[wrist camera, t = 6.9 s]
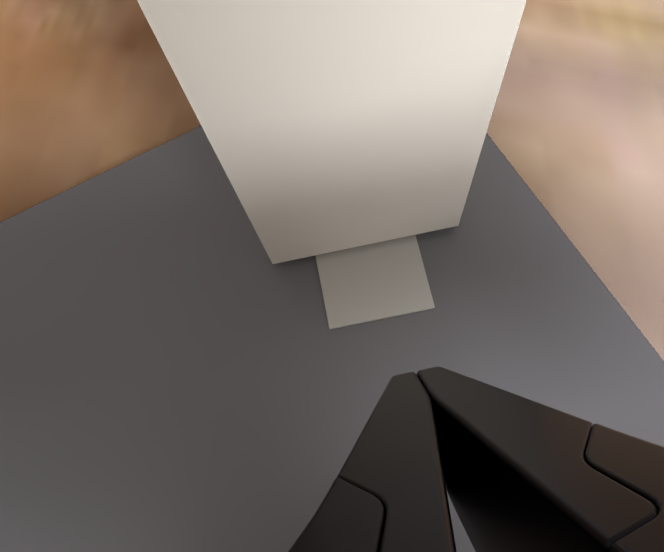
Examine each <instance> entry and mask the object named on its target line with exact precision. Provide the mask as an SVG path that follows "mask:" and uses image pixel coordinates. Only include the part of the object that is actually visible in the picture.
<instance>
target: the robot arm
mask: <svg viewBox="0 0 664 552" xmlns="http://www.w3.org/2000/svg"><path fill="white" fill-rule="evenodd" d="M447 492H448V495H449V497H450V499H451V502H452V504H453V506H454V508H455V510H456V512H457V514H458V516H459V519H460V521H461V523H462V525H463V527H464V529H465V531H466V533H467V535H468V537H469V539H470V541H471V543H472V545H473V548H474V550H475V552H664V446H660V445H657V444H654V443H651V442H648V441H645V440H642V439H640V438H637V437H634V436H631V435H628V434H625V433H622V432H619V431H616V430H614V429H611V428H608V427H606V426H603V425H600V424H597V423H596V424H594V425H593V423H592V422H589V421H587V420H584V419H581V418H579V417H576V416H573V415H570V414H568V413H565V412H562V411H560V410H557V409H554V408H551V407H549V406H546V405H543V404H541V403H538V402H535V401H532V400H530V399H527V398H524V397H522V396H519V395H516V394H513V393H511V392H508V391H505V390H503V389H500V388H497V387H494V386H492V385H489V384H486V383H484V382H481V381H478V380H475V379H473V378H470V377H467V376H464V375H462V374H459V373H456V372H454V371H451V370H448V369H445V368H443V367H439V366H436V367H432V368H427V369H422V370H419V371H418V372H417V375H416V374H415V373H414V372H408V373H404V374H399V375H395V376H393V377H392V378H391V379H390V381H389V383H388V385H387V386H386V388H385V390H384V392H383V394H382V396H381V397H380V399H379V401H378V403H377V405H376V406H375V408H374V410H373V412H372V414H371V416H370V417H369V419H368V421H367V423H366V425H365V427H364V428H363V430H362V432H361V434H360V436H359V438H358V439H357V441H356V443H355V445H354V447H353V449H352V450H351V452H350V454H349V456H348V458H347V459H346V461H345V463H344V465H343V467H342V469H341V470H340V472H339V474H338V476H337V478H336V479H335V480H334V482H333V483H332V485H331V487H330V489H329V491H328V492H327V494H326V496H325V498H324V499H323V501H322V502H321V504H320V506H319V507H318V509H317V511H316V512H315V514H314V516H313V517H312V519H311V520H310V522H309V523H308V524H307V526H306V527H305V529H304V530H303V532H302V533H301V534H300V536H299V537H298V539H297V540H296V541H295V543H294V544H293V546H292V547H291V548H290V550H289V551H288V552H457V551H456V544H455V538H454V532H453V526H452V520H451V514H450V508H449V502H448V495H447Z"/></svg>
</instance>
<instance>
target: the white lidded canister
mask: <svg viewBox="0 0 664 552" xmlns="http://www.w3.org/2000/svg"><path fill="white" fill-rule="evenodd" d="M137 2H138V4H139V5H140V7H141V9H142V11H143V13H144V15H145V17H146V19H147V21H148V23H149V25H150V27H151V29H152V31H153V33H154V35H155V37H156V39H157V40H158V42H159V44H160V46H161V48H162V50H163V52H164V54H165V56H166V58H167V60H168V62H169V64H170V66H171V68H172V70H173V72H174V74H175V75H176V77H177V79H178V81H179V83H180V85H181V87H182V89H183V91H184V93H185V95H186V97H187V99H188V101H189V103H190V105H191V107H192V109H193V110H194V112H195V114H196V116H197V118H198V120H199V122H200V124H201V126H202V128H203V130H204V132H205V134H206V136H207V138H208V140H209V142H210V143H211V145H212V147H213V149H214V151H215V153H216V155H217V157H218V159H219V161H220V163H221V165H222V167H223V169H224V171H225V173H226V175H227V177H228V178H229V180H230V182H231V184H232V186H233V188H234V190H235V192H236V194H237V196H238V198H239V200H240V202H241V204H242V206H243V208H244V210H245V212H246V213H247V215H248V217H249V219H250V221H251V223H252V225H253V227H254V229H255V231H256V233H257V235H258V237H259V239H260V241H261V243H262V245H263V247H264V248H265V250H266V252H267V254H268V256H269V258H270V260H271V262H272V264H276V263H281V262H286V261H291V260H296V259H300V258H305V257H310V256H315V255H320V254H325V253H329V252H334V251H339V250H344V249H349V248H354V247H358V246H363V245H368V244H373V243H378V242H382V241H387V240H392V239H397V238H402V237H407V236H411V235H416V234H421V233H426V232H431V231H436V230H440V229H445V228H450V227H455V226H458V225H459V222H460V219H461V215H462V212H463V209H464V205H465V202H466V199H467V196H468V192H469V189H470V186H471V182H472V179H473V176H474V172H475V169H476V166H477V162H478V159H479V156H480V153H481V149H482V146H483V143H484V139H485V136H486V133H487V129H488V126H489V123H490V119H491V116H492V113H493V110H494V106H495V103H496V100H497V96H498V93H499V90H500V86H501V83H502V80H503V76H504V73H505V70H506V67H507V63H508V60H509V57H510V53H511V50H512V47H513V43H514V40H515V37H516V33H517V30H518V27H519V24H520V20H521V17H522V14H523V10H524V7H525V4H526V0H137Z"/></svg>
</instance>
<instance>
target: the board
mask: <svg viewBox="0 0 664 552" xmlns="http://www.w3.org/2000/svg"><path fill="white" fill-rule="evenodd" d="M436 366H439V367H443V368H445V369H448V370H451V371H454V372H456V373H459V374H462V375H464V376H467V377H470V378H473V379H475V380H478V381H481V382H484V383H486V384H489V385H492V386H494V387H497V388H500V389H503V390H505V391H508V392H511V393H513V394H516V395H519V396H522V397H524V398H527V399H530V400H532V401H535V402H538V403H541V404H543V405H546V406H549V407H551V408H554V409H557V410H560V411H562V412H565V413H568V414H570V415H573V416H576V417H579V418H581V419H584V420H587V421H589V422H592V423H593V425H594V424H596V423H597V424H600V425H603V426H606V427H608V428H611V429H614V430H616V431H619V432H622V433H625V434H628V435H631V436H634V437H637V438H640V439H642V440H645V441H648V442H651V443H654V444H657V445H660V446H664V361H663V360H662V358H661V357H660V356H659V354H658V353H657V352H656V351H655V349H654V348H653V347H652V345H651V344H650V343H649V342H648V340H647V339H646V338H645V336H644V335H643V334H642V333H641V331H640V330H639V329H638V327H637V326H636V325H635V324H634V322H633V321H632V320H631V318H630V317H629V316H628V315H627V313H626V312H625V311H624V309H623V308H622V307H621V306H620V304H619V303H618V302H617V300H616V299H615V298H614V296H613V295H612V294H611V293H610V291H609V290H608V289H607V287H606V286H605V285H604V284H603V282H602V281H601V280H600V278H599V277H598V276H597V275H596V273H595V272H594V271H593V269H592V268H591V267H590V266H589V264H588V263H587V262H586V260H585V259H584V258H583V257H582V255H581V254H580V253H579V251H578V250H577V249H576V248H575V246H574V245H573V244H572V242H571V241H570V240H569V239H568V237H567V236H566V235H565V233H564V232H563V231H562V230H561V228H560V227H559V226H558V224H557V223H556V222H555V220H554V219H553V218H552V217H551V215H550V214H549V213H548V211H547V210H546V209H545V208H544V206H543V205H542V204H541V202H540V201H539V200H538V199H537V197H536V196H535V195H534V193H533V192H532V191H531V190H530V188H529V187H528V186H527V184H526V183H525V182H524V181H523V179H522V178H521V177H520V175H519V174H518V173H517V172H516V170H515V169H514V168H513V166H512V165H511V164H510V163H509V161H508V160H507V159H506V157H505V156H504V155H503V154H502V152H501V151H500V150H499V148H498V147H497V146H496V145H495V143H494V142H493V141H492V139H491V138H490V137H489V135H488V134H487V133H486V136H485V139H484V143H483V146H482V149H481V153H480V156H479V159H478V162H477V166H476V169H475V172H474V176H473V179H472V182H471V186H470V189H469V192H468V196H467V199H466V202H465V205H464V209H463V212H462V215H461V219H460V222H459V225H458V226H455V227H450V228H445V229H440V230H436V231H431V232H426V233H421V234H416V235H411V236H407V237H402V238H397V239H392V240H387V241H382V242H378V243H373V244H368V245H363V246H358V247H354V248H349V249H344V250H339V251H334V252H329V253H325V254H320V255H315V256H310V257H305V258H300V259H296V260H291V261H286V262H281V263H276V264H272V262H271V260H270V258H269V256H268V254H267V252H266V250H265V248H264V247H263V245H262V243H261V241H260V239H259V237H258V235H257V233H256V231H255V229H254V227H253V225H252V223H251V221H250V219H249V217H248V215H247V213H246V212H245V210H244V208H243V206H242V204H241V202H240V200H239V198H238V196H237V194H236V192H235V190H234V188H233V186H232V184H231V182H230V180H229V178H228V177H227V175H226V173H225V171H224V169H223V167H222V165H221V163H220V161H219V159H218V157H217V155H216V153H215V151H214V149H213V147H212V145H211V143H210V142H209V140H208V138H207V136H206V134H205V132H204V130H203V128H202V126H199V127H197V128H195V129H193V130H191V131H189V132H187V133H185V134H183V135H181V136H179V137H177V138H174V139H172V140H170V141H168V142H166V143H164V144H162V145H160V146H158V147H156V148H154V149H152V150H150V151H147V152H145V153H143V154H141V155H139V156H137V157H135V158H133V159H131V160H129V161H127V162H125V163H123V164H120V165H118V166H116V167H114V168H112V169H110V170H108V171H106V172H104V173H102V174H100V175H98V176H96V177H93V178H91V179H89V180H87V181H85V182H83V183H81V184H79V185H77V186H75V187H73V188H71V189H69V190H66V191H64V192H62V193H60V194H58V195H56V196H54V197H52V198H50V199H48V200H46V201H44V202H42V203H39V204H37V205H35V206H33V207H31V208H29V209H27V210H25V211H23V212H21V213H19V214H17V215H15V216H12V217H10V218H8V219H6V220H4V221H2V222H0V552H288V551H289V550H290V548H291V547H292V546H293V544H294V543H295V541H296V540H297V539H298V537H299V536H300V534H301V533H302V532H303V530H304V529H305V527H306V526H307V524H308V523H309V522H310V520H311V519H312V517H313V516H314V514H315V512H316V511H317V509H318V507H319V506H320V504H321V502H322V501H323V499H324V498H325V496H326V494H327V492H328V491H329V489H330V487H331V485H332V483H333V482H334V480H335V479H336V478H337V476H338V474H339V472H340V470H341V469H342V467H343V465H344V463H345V461H346V459H347V458H348V456H349V454H350V452H351V450H352V449H353V447H354V445H355V443H356V441H357V439H358V438H359V436H360V434H361V432H362V430H363V428H364V427H365V425H366V423H367V421H368V419H369V417H370V416H371V414H372V412H373V410H374V408H375V406H376V405H377V403H378V401H379V399H380V397H381V396H382V394H383V392H384V390H385V388H386V386H387V385H388V383H389V381H390V379H391V378H392V377H393V376H395V375H399V374H404V373H408V372H414V373H415V374H416V375H417V372H418V371H419V370H422V369H427V368H432V367H436ZM447 495H448V492H447ZM448 502H449V508H450V514H451V520H452V526H453V532H454V538H455V544H456V551H457V552H475V550H474V548H473V545H472V543H471V541H470V539H469V537H468V535H467V533H466V531H465V529H464V527H463V525H462V523H461V521H460V519H459V516H458V514H457V512H456V510H455V508H454V506H453V504H452V502H451V499H450V497H449V495H448Z"/></svg>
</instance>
